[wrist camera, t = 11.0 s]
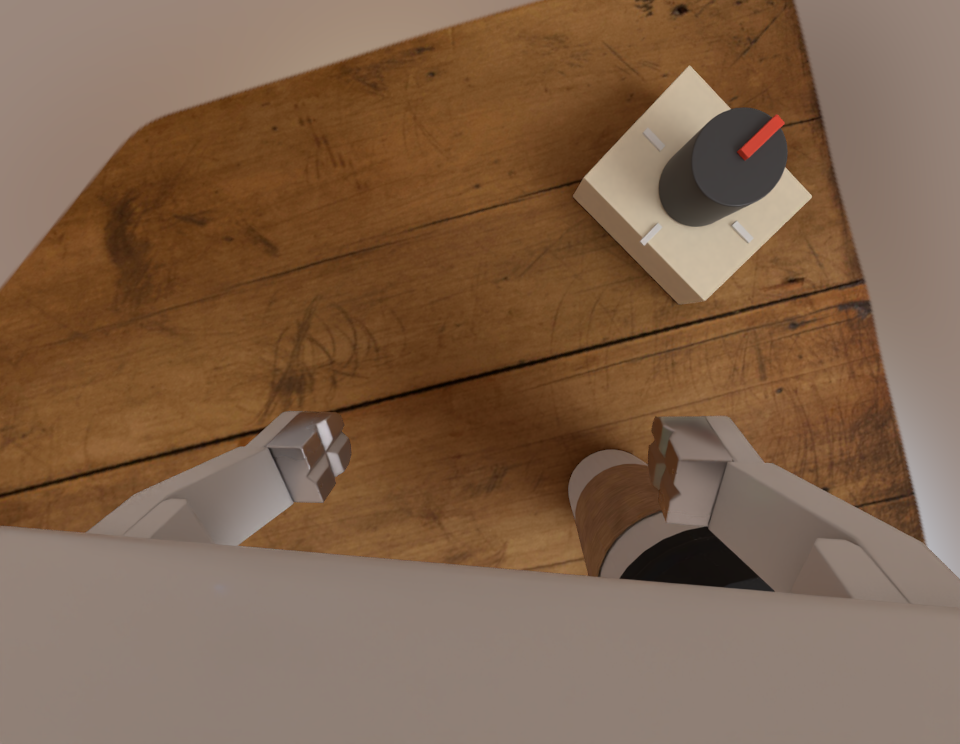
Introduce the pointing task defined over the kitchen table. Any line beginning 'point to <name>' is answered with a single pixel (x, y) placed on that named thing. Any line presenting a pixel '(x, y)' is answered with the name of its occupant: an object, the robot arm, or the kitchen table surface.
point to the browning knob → (724, 167)
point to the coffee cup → (645, 530)
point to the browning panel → (644, 222)
